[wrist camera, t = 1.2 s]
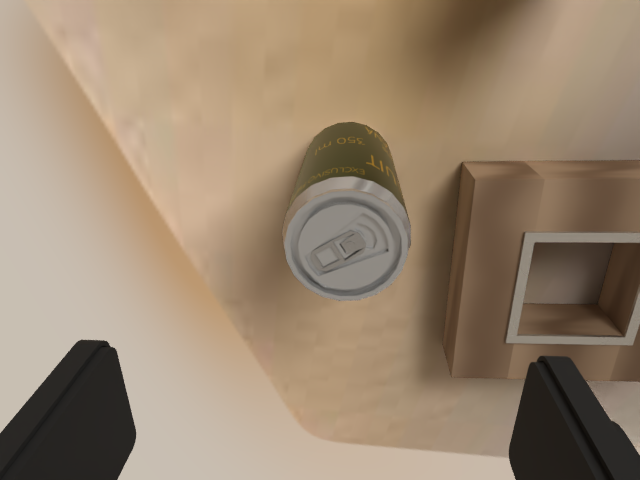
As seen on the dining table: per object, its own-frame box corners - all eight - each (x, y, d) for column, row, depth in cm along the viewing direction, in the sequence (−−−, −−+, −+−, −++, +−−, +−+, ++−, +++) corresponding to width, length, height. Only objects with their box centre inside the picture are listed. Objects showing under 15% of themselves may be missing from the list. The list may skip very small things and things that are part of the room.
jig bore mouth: (667, 231, 26) (669, 233, 26) (630, 343, 30) (632, 345, 30) (524, 231, 27) (525, 232, 27) (504, 341, 30) (505, 343, 30)
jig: (701, 159, 28) (745, 178, 25) (638, 348, 34) (667, 382, 31) (462, 161, 29) (475, 179, 26) (442, 344, 35) (451, 377, 32)
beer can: (333, 216, 31) (323, 324, 20) (289, 147, 29) (251, 226, 18) (406, 177, 30) (437, 270, 19) (364, 102, 28) (372, 158, 17)
